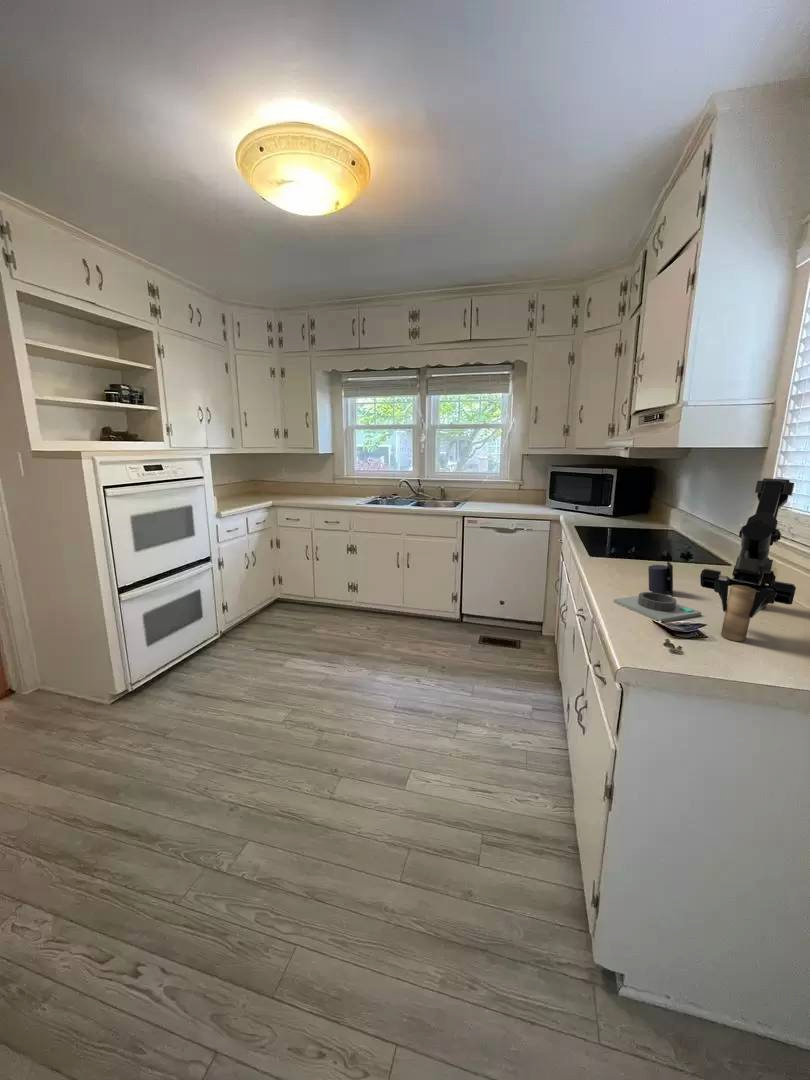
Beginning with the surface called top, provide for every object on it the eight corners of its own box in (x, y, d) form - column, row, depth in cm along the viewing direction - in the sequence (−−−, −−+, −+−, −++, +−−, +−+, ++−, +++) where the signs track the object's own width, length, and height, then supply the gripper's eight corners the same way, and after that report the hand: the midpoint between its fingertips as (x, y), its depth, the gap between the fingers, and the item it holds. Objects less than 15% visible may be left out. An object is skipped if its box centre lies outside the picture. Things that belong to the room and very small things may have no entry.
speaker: (675, 591, 142) (676, 561, 140) (672, 596, 138) (674, 565, 136) (649, 588, 147) (650, 559, 145) (646, 593, 143) (647, 563, 141)
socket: (651, 596, 137) (652, 586, 136) (700, 615, 122) (702, 603, 122) (613, 602, 131) (614, 591, 130) (660, 622, 117) (662, 610, 116)
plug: (729, 631, 111) (738, 584, 108) (750, 639, 107) (760, 590, 104) (716, 634, 109) (725, 585, 107) (737, 642, 105) (747, 592, 102)
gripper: (708, 538, 112) (692, 587, 107) (804, 551, 100) (791, 608, 94) (708, 562, 119) (693, 609, 114) (797, 577, 107) (785, 631, 101)
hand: (737, 613), depth 106 cm, fingers closed on plug, 5 cm apart
